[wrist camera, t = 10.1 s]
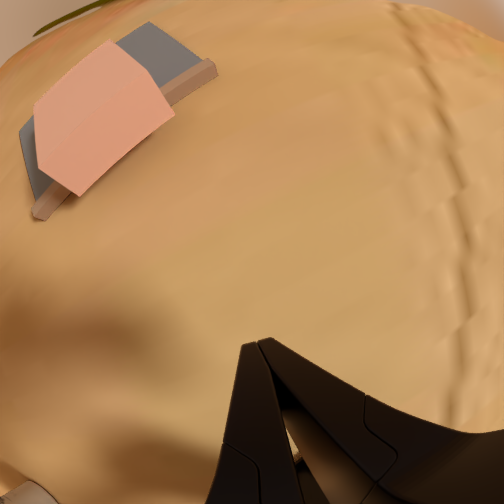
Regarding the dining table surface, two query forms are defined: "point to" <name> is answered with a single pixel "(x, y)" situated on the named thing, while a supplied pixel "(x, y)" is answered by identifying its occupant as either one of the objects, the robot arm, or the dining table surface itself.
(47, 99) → the terracotta block
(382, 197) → the dining table surface
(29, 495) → the travel mug
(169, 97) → the mat
